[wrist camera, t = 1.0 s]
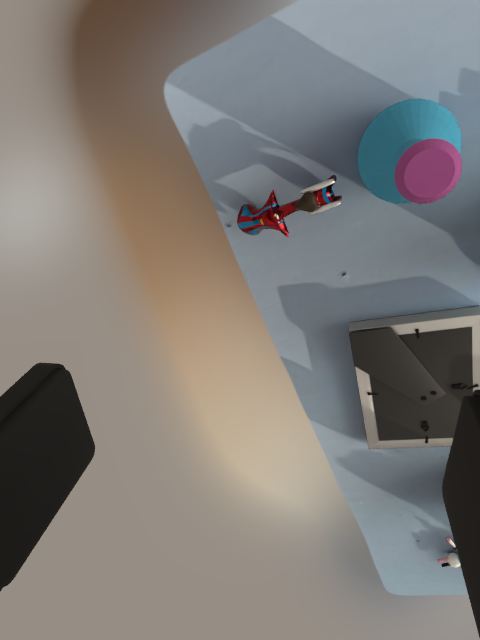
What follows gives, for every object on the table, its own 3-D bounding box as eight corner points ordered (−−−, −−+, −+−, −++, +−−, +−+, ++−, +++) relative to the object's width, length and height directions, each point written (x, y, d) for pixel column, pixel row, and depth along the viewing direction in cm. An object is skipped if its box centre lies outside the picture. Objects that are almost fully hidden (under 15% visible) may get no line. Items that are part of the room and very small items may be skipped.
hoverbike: (233, 200, 49) (222, 212, 44) (332, 161, 45) (332, 170, 40) (249, 239, 51) (241, 255, 46) (345, 206, 47) (346, 219, 42)
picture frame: (348, 322, 54) (367, 439, 63) (349, 333, 51) (369, 453, 60) (482, 305, 49) (482, 433, 58) (490, 316, 47) (489, 448, 56)
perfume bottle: (342, 179, 45) (345, 216, 33) (375, 87, 40) (394, 86, 28) (424, 202, 45) (459, 248, 32) (467, 111, 40) (528, 122, 27)
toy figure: (423, 551, 69) (475, 539, 65) (421, 537, 71) (471, 525, 67) (459, 589, 72) (510, 580, 68) (455, 575, 74) (505, 565, 70)
